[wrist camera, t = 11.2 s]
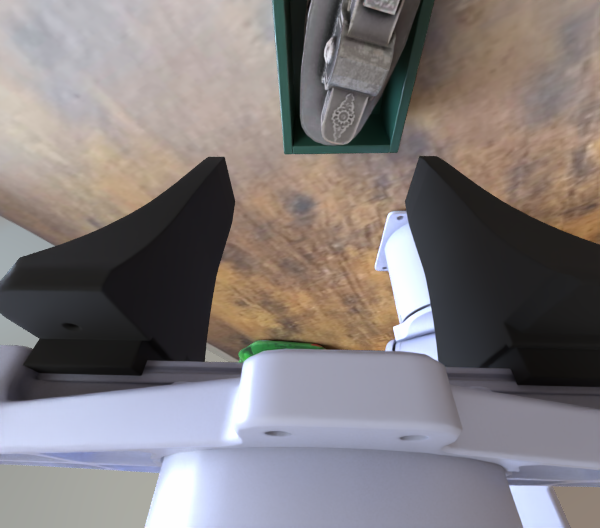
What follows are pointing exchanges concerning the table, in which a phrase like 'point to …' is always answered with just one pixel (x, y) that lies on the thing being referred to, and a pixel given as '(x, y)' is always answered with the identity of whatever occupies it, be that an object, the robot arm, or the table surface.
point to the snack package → (273, 347)
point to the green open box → (387, 112)
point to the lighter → (349, 62)
